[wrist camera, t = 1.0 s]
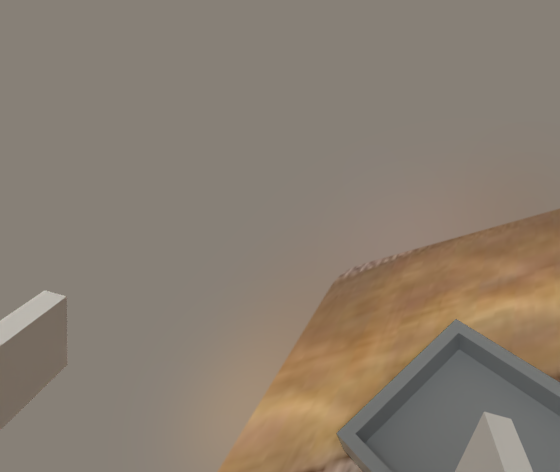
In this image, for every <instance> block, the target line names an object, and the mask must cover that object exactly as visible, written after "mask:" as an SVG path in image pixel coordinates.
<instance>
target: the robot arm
mask: <svg viewBox="0 0 560 472" xmlns="http://www.w3.org/2000/svg"><path fill="white" fill-rule="evenodd" d="M66 366H67V297H66V296H63V295H59V294H56V293H52V292H48V291H43V292H42V293H40V294H39V295H37V296H36V297H34V298H33V299H31V300H30V301H29V302H27V303H26V304H24V305H23V306H21V307H20V308H18V309H17V310H15V311H14V312H12V313H11V314H9V315H8V316H7V317H5V318H3V319H2V320H1V321H0V430H1V429H2V428H3V427H4V426H5V425H6V424H7V423H8V422H9V421H10V420H11V419H12V418H13V417H14V416H15V415H16V414H17V413H19V411H21V409H23V408H24V407H25V406H26V405H27V404H28V403H29V402H30V401H31V400H32V399H33V398H34V397H35V396H36V395H37V394H38V393H39V392H40V391H41V390H42V389H43V388H44V387H45V386H46V385H47V384H48V383H49V382H50V381H51V380H52V379H53V378H54V377H55V376H56V375H57V374H58V373H59V372H60V371H61V370H62V369H63V368H64V367H66ZM455 472H533V470H532V468H531V465H530V463H529V460H528V458H527V456H526V453H525V451H524V448H523V446H522V444H521V441H520V439H519V436H518V434H517V432H516V429H515V427H514V424H513V422H512V420H511V419H509V418H506V417H502V416H499V415H495V414H491V413H488V412H483V415H482V417H481V419H480V421H479V423H478V425H477V427H476V429H475V431H474V433H473V435H472V437H471V439H470V441H469V443H468V445H467V448H466V450H465V452H464V454H463V456H462V458H461V460H460V462H459V464H458V466H457V468H456V470H455Z"/></svg>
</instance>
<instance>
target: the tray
mask: <svg viewBox="0 0 560 472" xmlns="http://www.w3.org/2000/svg"><path fill="white" fill-rule="evenodd" d="M483 412H488V413H491V414H495V415H499V416H502V417H506V418H509V419H511V420H512V422H513V424H514V427H515V429H516V432H517V434H518V436H519V439H520V441H521V444H522V446H523V448H524V451H525V453H526V456H527V458H528V460H529V463H530V465H531V468H532V470H533V472H560V382H558V381H556V380H555V379H553V378H551V377H550V376H548V375H547V374H545V373H543V372H542V371H540V370H538V369H537V368H535V367H533V366H532V365H530V364H529V363H527V362H525V361H524V360H522V359H520V358H519V357H517V356H516V355H514V354H512V353H511V352H509V351H507V350H506V349H504V348H502V347H501V346H499V345H498V344H496V343H494V342H493V341H491V340H489V339H488V338H486V337H485V336H483V335H481V334H480V333H478V332H476V331H475V330H473V329H471V328H470V327H468V326H467V325H465V324H463V323H462V322H460V321H458V320H457V319H455V320H454V321H453V322H452V323H451V324H450V325H449V326H448V327H447V328H446V329H445V330H444V331H443V332H442V333H441V334H440V335H439V336H438V337H437V338H436V339H435V340H433V341H432V342H431V343H430V344H429V345H428V346H427V347H426V348H425V349H424V350H423V351H422V352H421V353H420V354H419V355H418V356H417V357H416V358H415V359H414V360H413V361H412V362H410V363H409V364H408V365H407V366H406V367H405V368H404V369H403V370H402V371H401V372H400V373H399V374H398V375H397V376H396V377H395V378H394V379H393V380H392V381H391V382H390V383H389V384H388V385H386V386H385V387H384V388H383V389H382V390H381V391H380V392H379V393H378V394H377V395H376V396H375V397H374V398H373V399H372V400H371V401H370V402H369V403H368V404H367V405H366V406H365V407H363V408H362V409H361V410H360V411H359V412H358V413H357V414H356V415H355V416H354V417H353V418H352V419H351V420H350V421H349V422H348V423H347V424H346V425H345V426H344V427H343V428H342V429H341V430H339V431H338V432H337V436H338V438H339V440H340V443H341V445H342V447H343V449H344V451H345V452H346V453H347V454H348V455H349V456H350V458H351V459H352V460H353V461H354V462H355V463H356V464H357V465H358V466H359V468H360V469H361V470H362V471H363V472H455V470H456V468H457V466H458V464H459V462H460V460H461V458H462V456H463V454H464V452H465V450H466V448H467V445H468V443H469V441H470V439H471V437H472V435H473V433H474V431H475V429H476V427H477V425H478V423H479V421H480V419H481V417H482V415H483Z"/></svg>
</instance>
